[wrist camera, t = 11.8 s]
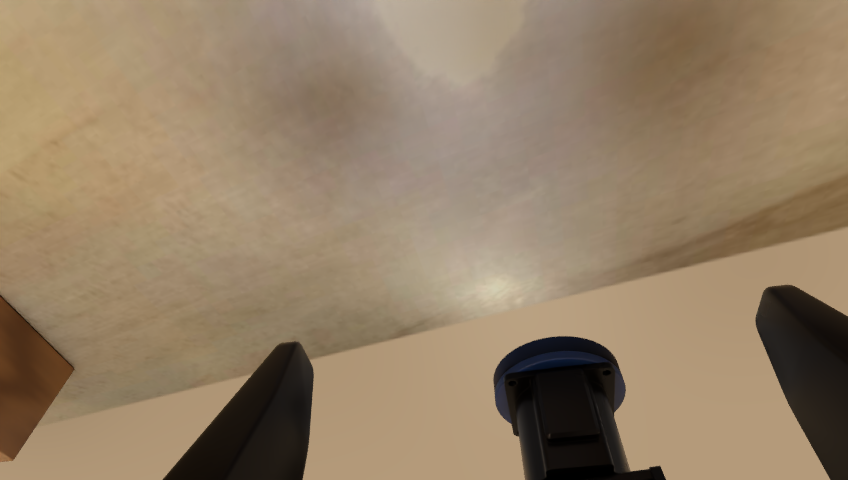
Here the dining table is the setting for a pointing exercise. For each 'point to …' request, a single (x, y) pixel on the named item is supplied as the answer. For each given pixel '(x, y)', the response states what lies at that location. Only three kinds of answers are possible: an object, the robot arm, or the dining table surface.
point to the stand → (25, 380)
